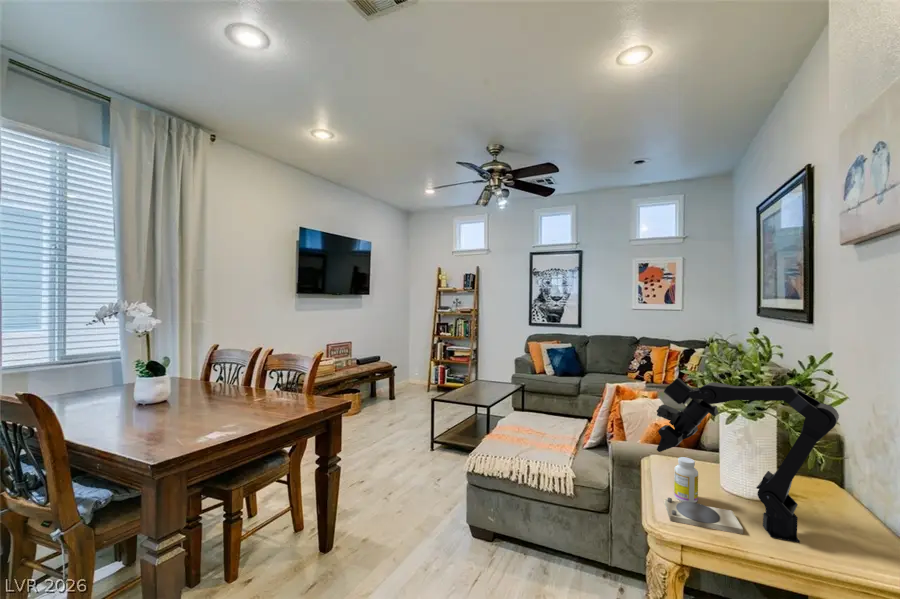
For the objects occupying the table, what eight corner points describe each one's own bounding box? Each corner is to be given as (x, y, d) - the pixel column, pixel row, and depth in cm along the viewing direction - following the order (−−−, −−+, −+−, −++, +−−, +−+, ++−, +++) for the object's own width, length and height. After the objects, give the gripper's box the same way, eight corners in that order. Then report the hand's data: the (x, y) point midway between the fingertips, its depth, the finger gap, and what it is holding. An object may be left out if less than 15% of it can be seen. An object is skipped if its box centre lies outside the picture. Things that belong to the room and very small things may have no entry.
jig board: (730, 514, 121) (731, 506, 121) (743, 535, 110) (743, 526, 110) (664, 503, 127) (664, 495, 127) (670, 521, 117) (670, 513, 117)
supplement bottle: (691, 494, 133) (692, 456, 132) (701, 504, 126) (702, 464, 126) (670, 493, 133) (671, 455, 133) (679, 503, 127) (680, 463, 126)
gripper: (680, 392, 139) (654, 423, 145) (658, 401, 126) (631, 435, 133) (710, 416, 132) (681, 447, 138) (691, 428, 120) (660, 462, 126)
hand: (663, 447), depth 134 cm, fingers open, 9 cm apart
